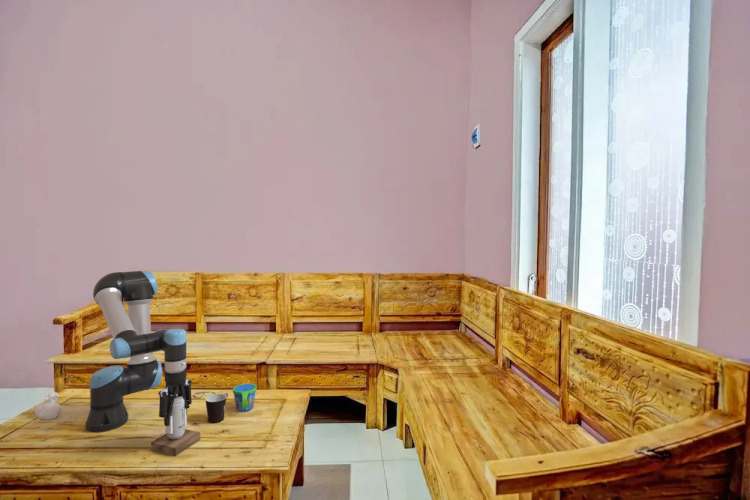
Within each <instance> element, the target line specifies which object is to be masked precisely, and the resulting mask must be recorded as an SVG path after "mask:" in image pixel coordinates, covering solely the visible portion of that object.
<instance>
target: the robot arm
mask: <svg viewBox="0 0 750 500" xmlns="http://www.w3.org/2000/svg"><path fill="white" fill-rule="evenodd" d="M92 293H93V294H92V296H93V299H94V302H95V304H96V305H98V306H99V307H100V309H101V311H102V314H103V318H104V319H105V321H106V324H107V326H108V328H109V331H110V333H111V336H112V340H111V341H110V342H109V352H110V356H111V357H112V358H113V359H115V360H118V359H119V360H120V359H127V358H130V359H129V360H128V361H127V362H126V367H123V366H122V365H111V366H107V367H103V368H101V369H99V370H97V371H95V372H94V373H93V374H92V375H91V376H90V378H89V385H88V386H89V395H90V396H89V397H90V398H89V401H90V405H89V407H90V410H89V412H88V415H87V419H86V421H85V430H86V431H88V432H91V433H101V432H107V431H110V430H114V429H117V428H119V427H121V426H123V425H125V424H126V423H127V422H128V421H129V412H128V410H127V408H126V406H125V403H124V396H128V395H132V394H136V393H140V392H144V391H149V390H151V389H155V388H157V387H158V386H159V385H160V383H161V382H162V376H163V366H162V363H161V362H160V361H159V360H157V357H156V356H155V355H153V353H155V352H156V353H157V352H161V351H163V352H164V354H163V355H164V358H163V359H164V371H165V372H164V382H165V387H164V389H163V390H159V392H158V396H159V403H158V404H159V405H158V406H159V408H158V409H159V410H158V417H159V418H162V419H163V425H164V426H165V429H164V430H165V431H164V432H165V434H166V433H168V434H172V433H173V425H172V416H171V411H172V407H173V402H174V399H175V398H176V396H177V395H178V396H183V399H184V411H185V426H187V416H188V409H190V406H191V405H192V403H193V401H192V388H191V387H192V379H187V339H188V337H187V332H186V330H185V329H184V328H171V329H165V328H159V329H156V330H155V331H154V332H152V325H151V324H152V322H151V321H152V320H151V306H150V303H151V302H152V301H153V300H154V296H155V295H157V294H158V282H157V279H156V277H155V275H154V273H153V272H151V271H149V270H136V271H134V270H133V271H121V272H120V271H119V272H118V271H115V272H111V273H108V274H105V275H104V276H102V277H101V278H100V279H99V280H98V281H97V282H96V284H95V285H94V288H93V290H92ZM122 299H123V300H122ZM124 304H125V305H127V309H126V308H125V305H124Z"/></svg>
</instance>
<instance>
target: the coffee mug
mask: <svg viewBox="0 0 750 500" xmlns="http://www.w3.org/2000/svg"><path fill="white" fill-rule="evenodd" d="M204 400H205V409H206V415H207V416H206V417H207V422H208V424H219V423H221V421H222V422H224V419H225V414H226V404H227V403H226V402H227V394H224V393H214V394H210V395H208V396H206V397H205V398H204Z"/></svg>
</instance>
